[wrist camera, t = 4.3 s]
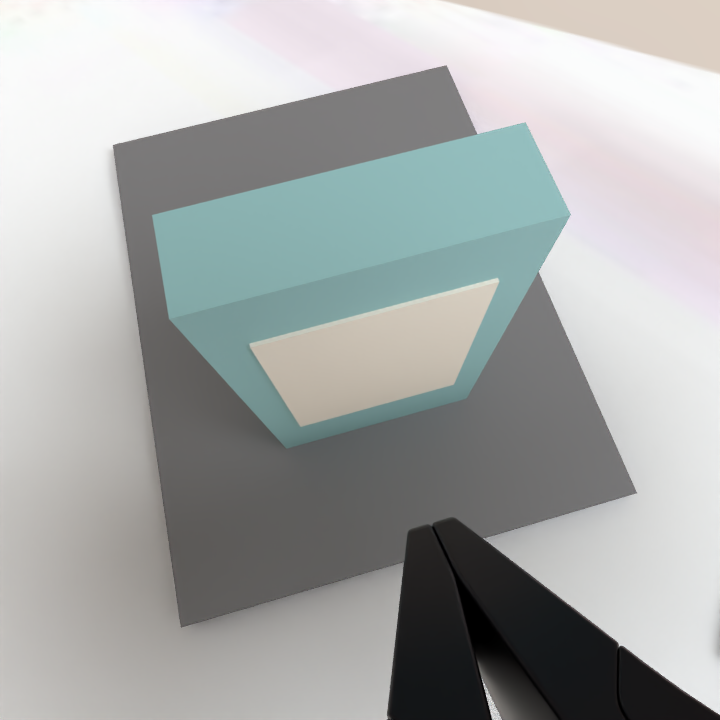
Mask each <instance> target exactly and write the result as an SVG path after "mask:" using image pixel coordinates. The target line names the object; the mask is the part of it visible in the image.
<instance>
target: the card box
mask: <svg viewBox="0 0 720 720" xmlns="http://www.w3.org/2000/svg"><path fill="white" fill-rule="evenodd" d="M570 215H571V214H570V212H569V210H568V208H567V206H566V204H565V202H564V200H563V198H562V196H561V194H560V192H559V190H558V188H557V186H556V184H555V182H554V180H553V177H552V175H551V173H550V171H549V169H548V167H547V165H546V163H545V161H544V159H543V157H542V155H541V153H540V151H539V149H538V147H537V145H536V143H535V141H534V139H533V137H532V135H531V133H530V131H529V129H528V126H527V124H526V122H525V123H521V124H517V125H513V126H509V127H505V128H501V129H497V130H493V131H489V132H485V133H481V134H477V135H473V136H469V137H465V138H461V139H457V140H453V141H449V142H445V143H441V144H437V145H433V146H429V147H424V148H420V149H416V150H412V151H408V152H404V153H400V154H396V155H392V156H388V157H384V158H380V159H376V160H372V161H368V162H364V163H360V164H356V165H352V166H348V167H344V168H340V169H336V170H332V171H328V172H324V173H320V174H316V175H312V176H307V177H303V178H299V179H295V180H291V181H287V182H283V183H279V184H275V185H271V186H267V187H263V188H259V189H255V190H251V191H247V192H243V193H239V194H235V195H231V196H227V197H223V198H219V199H215V200H211V201H207V202H203V203H199V204H195V205H190V206H186V207H182V208H178V209H174V210H170V211H166V212H162V213H158V214H154V215H152V217H153V224H154V230H155V236H156V242H157V248H158V254H159V260H160V266H161V272H162V279H163V285H164V291H165V297H166V303H167V309H168V315H169V319H170V321H171V322H172V323H173V324H174V325H175V326H176V327H177V328H178V329H179V330H180V332H181V333H182V334H183V335H184V336H185V337H186V338H187V339H188V340H189V342H190V343H191V344H192V345H193V346H194V347H195V348H196V349H197V350H198V351H199V353H200V354H201V355H202V356H203V357H204V358H205V359H206V360H207V361H208V363H209V364H210V365H211V366H212V367H213V368H214V369H215V370H216V371H217V372H218V374H219V375H220V376H221V377H222V378H223V379H224V380H225V381H226V382H227V384H228V385H229V386H230V387H231V388H232V389H233V390H234V391H235V392H236V393H237V395H238V396H239V397H240V398H241V399H242V400H243V401H244V402H245V403H246V404H247V406H248V407H249V408H250V409H251V410H252V411H253V412H254V413H255V414H256V416H257V417H258V418H259V419H260V420H261V421H262V422H263V423H264V424H265V425H266V427H267V428H268V429H269V430H270V431H271V432H272V433H273V434H274V435H275V437H276V438H277V439H278V440H279V441H280V442H281V443H282V444H283V445H284V446H285V448H286V449H287V448H291V447H294V446H298V445H302V444H305V443H309V442H312V441H316V440H320V439H323V438H327V437H330V436H334V435H338V434H341V433H345V432H348V431H352V430H356V429H359V428H363V427H366V426H370V425H374V424H377V423H381V422H384V421H388V420H392V419H395V418H399V417H402V416H406V415H410V414H413V413H417V412H420V411H424V410H428V409H431V408H435V407H438V406H442V405H446V404H449V403H453V402H456V401H460V400H463V399H466V398H467V397H468V395H469V393H470V391H471V390H472V388H473V386H474V384H475V383H476V381H477V379H478V377H479V376H480V374H481V372H482V370H483V369H484V367H485V365H486V363H487V361H488V360H489V358H490V356H491V354H492V353H493V351H494V349H495V347H496V346H497V344H498V342H499V340H500V339H501V337H502V335H503V333H504V331H505V330H506V328H507V326H508V324H509V323H510V321H511V319H512V317H513V316H514V314H515V312H516V310H517V309H518V307H519V305H520V303H521V301H522V300H523V298H524V296H525V294H526V293H527V291H528V289H529V287H530V286H531V284H532V282H533V280H534V279H535V277H536V275H537V273H538V271H539V270H540V268H541V266H542V264H543V263H544V261H545V259H546V257H547V256H548V254H549V252H550V250H551V249H552V247H553V245H554V243H555V241H556V240H557V238H558V236H559V234H560V233H561V231H562V229H563V227H564V226H565V224H566V222H567V220H568V219H569V217H570Z"/></svg>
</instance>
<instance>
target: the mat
mask: <svg viewBox="0 0 720 720" xmlns="http://www.w3.org/2000/svg"><path fill="white" fill-rule="evenodd" d="M473 135H477V133H476V131H475V128H474V126H473V124H472V122H471V119H470V117H469V115H468V113H467V110H466V108H465V106H464V104H463V101H462V99H461V97H460V95H459V92H458V90H457V88H456V86H455V83H454V81H453V79H452V77H451V74H450V72H449V70H448V68H447V65H446V66H442V67H438V68H434V69H429V70H425V71H421V72H417V73H413V74H409V75H404V76H400V77H396V78H392V79H388V80H383V81H379V82H375V83H371V84H367V85H362V86H358V87H354V88H350V89H346V90H342V91H337V92H333V93H329V94H325V95H321V96H316V97H312V98H308V99H304V100H300V101H296V102H291V103H287V104H283V105H279V106H275V107H270V108H266V109H262V110H258V111H254V112H250V113H245V114H241V115H237V116H233V117H229V118H224V119H220V120H216V121H212V122H208V123H204V124H199V125H195V126H191V127H187V128H183V129H178V130H174V131H170V132H166V133H162V134H158V135H153V136H149V137H145V138H141V139H137V140H132V141H128V142H124V143H120V144H116V145H113V149H114V156H115V163H116V170H117V177H118V184H119V191H120V199H121V206H122V213H123V220H124V227H125V234H126V241H127V248H128V255H129V262H130V270H131V277H132V284H133V291H134V298H135V305H136V312H137V319H138V326H139V333H140V340H141V348H142V355H143V362H144V369H145V376H146V383H147V390H148V397H149V404H150V411H151V419H152V426H153V433H154V440H155V447H156V454H157V461H158V468H159V475H160V482H161V490H162V497H163V504H164V511H165V518H166V525H167V532H168V539H169V546H170V553H171V560H172V568H173V575H174V582H175V589H176V596H177V603H178V610H179V617H180V624H181V627H184V626H188V625H191V624H194V623H198V622H201V621H205V620H208V619H211V618H215V617H218V616H222V615H225V614H228V613H232V612H235V611H239V610H242V609H245V608H249V607H252V606H255V605H259V604H262V603H266V602H269V601H272V600H276V599H279V598H283V597H286V596H289V595H293V594H296V593H300V592H303V591H306V590H310V589H313V588H317V587H320V586H323V585H327V584H330V583H334V582H337V581H340V580H344V579H347V578H351V577H354V576H357V575H361V574H364V573H367V572H371V571H374V570H378V569H381V568H384V567H388V566H391V565H395V564H398V563H401V562H404V558H405V549H406V540H407V533H408V531H409V530H410V529H412V528H415V527H419V526H422V525H425V524H429V525H431V526H432V524H433V523H434V522H436V521H439V520H443V519H446V518H449V517H455V518H457V519H458V520H459V521H461V522H462V523H463V524H464V525H466V526H467V527H468V528H470V529H471V530H472V531H474V532H475V533H476V534H478V535H479V536H480V537H481V538H486V537H490V536H493V535H496V534H500V533H503V532H507V531H510V530H513V529H517V528H520V527H524V526H527V525H530V524H534V523H537V522H541V521H544V520H547V519H551V518H554V517H558V516H561V515H564V514H568V513H571V512H574V511H578V510H581V509H585V508H588V507H591V506H595V505H598V504H602V503H605V502H608V501H612V500H615V499H619V498H622V497H625V496H629V495H632V494H636V493H637V492H636V490H635V488H634V485H633V483H632V481H631V479H630V477H629V474H628V472H627V470H626V468H625V465H624V463H623V461H622V459H621V456H620V454H619V452H618V450H617V447H616V445H615V443H614V441H613V438H612V436H611V434H610V432H609V429H608V427H607V425H606V423H605V420H604V418H603V416H602V414H601V411H600V409H599V407H598V405H597V402H596V400H595V398H594V396H593V393H592V391H591V389H590V387H589V384H588V382H587V380H586V378H585V375H584V373H583V371H582V369H581V366H580V364H579V362H578V360H577V357H576V355H575V353H574V351H573V348H572V346H571V344H570V342H569V339H568V337H567V335H566V333H565V330H564V328H563V326H562V324H561V321H560V319H559V317H558V315H557V312H556V310H555V308H554V306H553V304H552V301H551V299H550V297H549V295H548V292H547V290H546V288H545V286H544V283H543V281H542V279H541V277H540V274H539V272H538V273H537V275H536V277H535V279H534V280H533V282H532V284H531V286H530V287H529V289H528V291H527V293H526V294H525V296H524V298H523V300H522V301H521V303H520V305H519V307H518V309H517V310H516V312H515V314H514V316H513V317H512V319H511V321H510V323H509V324H508V326H507V328H506V330H505V331H504V333H503V335H502V337H501V339H500V340H499V342H498V344H497V346H496V347H495V349H494V351H493V353H492V354H491V356H490V358H489V360H488V361H487V363H486V365H485V367H484V369H483V370H482V372H481V374H480V376H479V377H478V379H477V381H476V383H475V384H474V386H473V388H472V390H471V391H470V393H469V395H468V397H467V398H466V399H463V400H460V401H456V402H453V403H449V404H446V405H442V406H438V407H435V408H431V409H428V410H424V411H420V412H417V413H413V414H410V415H406V416H402V417H399V418H395V419H392V420H388V421H384V422H381V423H377V424H374V425H370V426H366V427H363V428H359V429H356V430H352V431H348V432H345V433H341V434H338V435H334V436H330V437H327V438H323V439H320V440H316V441H312V442H309V443H305V444H302V445H298V446H294V447H291V448H287V449H286V448H285V446H284V445H283V444H282V443H281V442H280V441H279V440H278V439H277V438H276V437H275V435H274V434H273V433H272V432H271V431H270V430H269V429H268V428H267V427H266V425H265V424H264V423H263V422H262V421H261V420H260V419H259V418H258V417H257V416H256V414H255V413H254V412H253V411H252V410H251V409H250V408H249V407H248V406H247V404H246V403H245V402H244V401H243V400H242V399H241V398H240V397H239V396H238V395H237V393H236V392H235V391H234V390H233V389H232V388H231V387H230V386H229V385H228V384H227V382H226V381H225V380H224V379H223V378H222V377H221V376H220V375H219V374H218V372H217V371H216V370H215V369H214V368H213V367H212V366H211V365H210V364H209V363H208V361H207V360H206V359H205V358H204V357H203V356H202V355H201V354H200V353H199V351H198V350H197V349H196V348H195V347H194V346H193V345H192V344H191V343H190V342H189V340H188V339H187V338H186V337H185V336H184V335H183V334H182V333H181V332H180V330H179V329H178V328H177V327H176V326H175V325H174V324H173V323H172V322H171V321H170V319H169V315H168V309H167V303H166V297H165V291H164V285H163V279H162V272H161V266H160V260H159V254H158V248H157V242H156V236H155V230H154V224H153V217H152V215H154V214H158V213H162V212H166V211H170V210H174V209H178V208H182V207H186V206H190V205H195V204H199V203H203V202H207V201H211V200H215V199H219V198H223V197H227V196H231V195H235V194H239V193H243V192H247V191H251V190H255V189H259V188H263V187H267V186H271V185H275V184H279V183H283V182H287V181H291V180H295V179H299V178H303V177H307V176H312V175H316V174H320V173H324V172H328V171H332V170H336V169H340V168H344V167H348V166H352V165H356V164H360V163H364V162H368V161H372V160H376V159H380V158H384V157H388V156H392V155H396V154H400V153H404V152H408V151H412V150H416V149H420V148H424V147H429V146H433V145H437V144H441V143H445V142H449V141H453V140H457V139H461V138H465V137H469V136H473Z"/></svg>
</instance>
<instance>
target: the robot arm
mask: <svg viewBox="0 0 720 720" xmlns="http://www.w3.org/2000/svg"><path fill="white" fill-rule="evenodd" d="M481 677H482V678H481ZM482 679H483V681H484V683H485V685H486V687H487V689H488V691H489V693H490V695H491V697H492V699H493V702H494V704H495V706H496V708H497V710H498V712H499V714H500V716H501V718H502V720H720V715H719V714H717V713H716V712H714V711H713V710H711V709H710V708H708V707H707V706H705V705H704V704H702V703H701V702H699V701H698V700H696V699H695V698H693V697H692V696H690V695H689V694H687V693H686V692H684V691H683V690H681V689H680V688H679V687H677V686H676V685H674V684H673V683H672V682H670V681H669V680H668V679H666V678H665V677H663V676H662V675H661V674H659V673H658V672H657V671H655V670H654V669H653V668H651V667H650V666H648V665H647V664H646V663H644V662H643V661H642V660H641V659H639V658H638V657H637V656H635V655H634V654H633V653H632V652H630V651H629V650H628V649H626V648H625V647H624V646H620V647H619V645H618V642H617V641H616V640H614V639H613V638H612V637H610V636H609V635H608V634H606V633H605V632H604V631H603V630H601V629H600V628H599V627H597V626H596V625H595V624H593V623H592V622H591V621H590V620H588V619H587V618H586V617H584V616H583V615H582V614H580V613H579V612H578V611H577V610H575V609H574V608H573V607H571V606H570V605H569V604H567V603H566V602H565V601H563V600H562V599H561V598H560V597H558V596H557V595H556V594H554V593H553V592H552V591H550V590H549V589H548V588H547V587H545V586H544V585H543V584H541V583H540V582H539V581H537V580H536V579H535V578H534V577H532V576H531V575H530V574H528V573H527V572H526V571H524V570H523V569H522V568H521V567H519V566H518V565H517V564H515V563H514V562H513V561H511V560H510V559H509V558H507V557H506V556H505V555H504V554H502V553H501V552H500V551H498V550H497V549H496V548H494V547H493V546H492V545H491V544H489V543H488V542H487V541H485V540H484V539H483V538H481V537H480V536H479V535H478V534H476V533H475V532H474V531H472V530H471V529H470V528H468V527H467V526H466V525H464V524H463V523H462V522H461V521H459V520H458V519H457V518H455V517H449V518H446V519H443V520H439V521H436V522H434V523H433V524H432V526H431V525H429V524H425V525H422V526H419V527H415V528H412V529H410V530H409V531H408V533H407V540H406V549H405V558H404V567H403V576H402V585H401V594H400V603H399V612H398V621H397V630H396V640H395V649H394V658H393V667H392V676H391V685H390V694H389V703H388V712H387V716H388V719H387V720H492V718H491V714H490V710H489V706H488V702H487V698H486V694H485V690H484V686H483V682H482Z"/></svg>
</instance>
